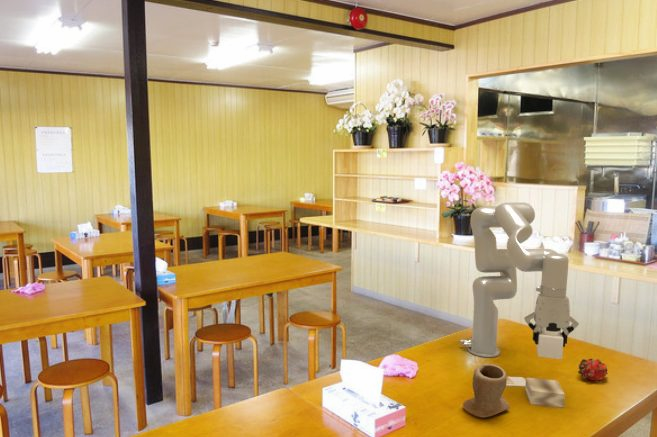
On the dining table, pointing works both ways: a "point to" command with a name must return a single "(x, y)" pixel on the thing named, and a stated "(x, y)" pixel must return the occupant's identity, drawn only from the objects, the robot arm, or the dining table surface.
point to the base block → (544, 392)
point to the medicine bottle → (550, 342)
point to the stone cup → (487, 391)
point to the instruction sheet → (516, 381)
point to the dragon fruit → (592, 369)
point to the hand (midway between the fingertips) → (549, 343)
